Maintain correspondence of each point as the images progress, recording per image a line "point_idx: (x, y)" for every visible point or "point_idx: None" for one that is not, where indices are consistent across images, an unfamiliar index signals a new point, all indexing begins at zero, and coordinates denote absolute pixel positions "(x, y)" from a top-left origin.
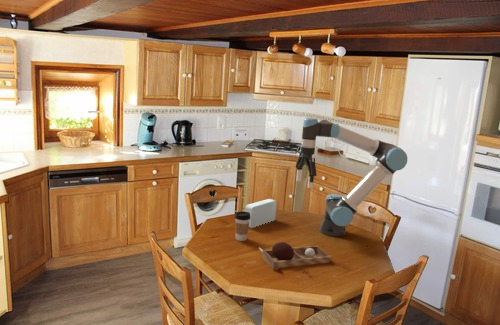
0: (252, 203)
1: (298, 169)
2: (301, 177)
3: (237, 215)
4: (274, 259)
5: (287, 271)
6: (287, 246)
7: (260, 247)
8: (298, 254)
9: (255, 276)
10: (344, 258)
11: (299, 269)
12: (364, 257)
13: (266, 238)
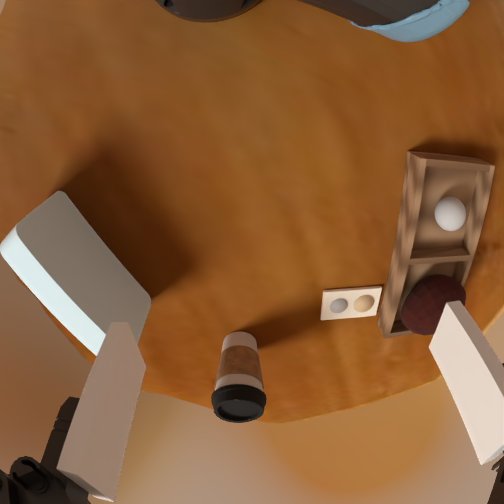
0: (82, 341)
1: (87, 496)
2: (114, 365)
3: (248, 420)
4: None
5: None
6: None
7: (323, 316)
8: (448, 257)
9: None
10: (464, 83)
11: None
12: (467, 14)
13: (246, 276)
